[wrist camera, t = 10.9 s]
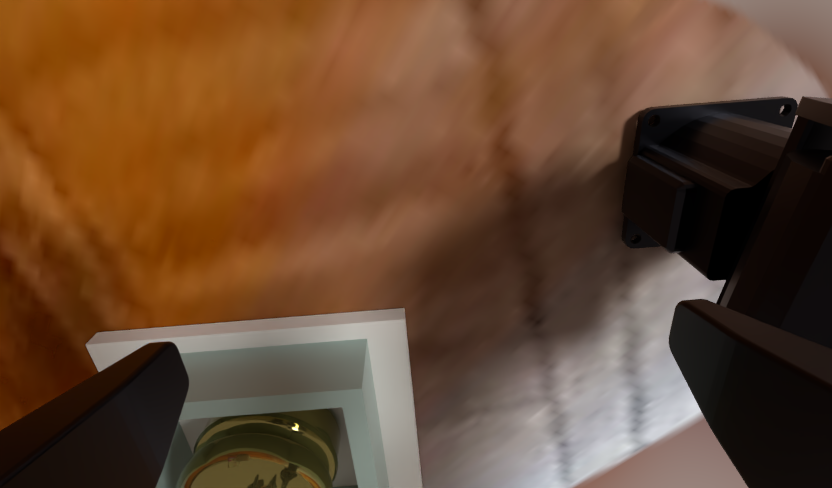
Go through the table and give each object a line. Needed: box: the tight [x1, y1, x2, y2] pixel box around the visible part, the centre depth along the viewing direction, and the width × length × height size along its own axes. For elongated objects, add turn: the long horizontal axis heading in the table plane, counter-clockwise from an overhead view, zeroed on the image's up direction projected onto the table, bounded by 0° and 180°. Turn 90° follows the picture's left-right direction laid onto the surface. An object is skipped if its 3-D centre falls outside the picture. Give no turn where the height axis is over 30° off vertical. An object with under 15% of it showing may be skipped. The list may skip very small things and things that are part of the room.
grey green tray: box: [85, 308, 423, 488], centre depth 24 cm, size 16×14×4 cm
